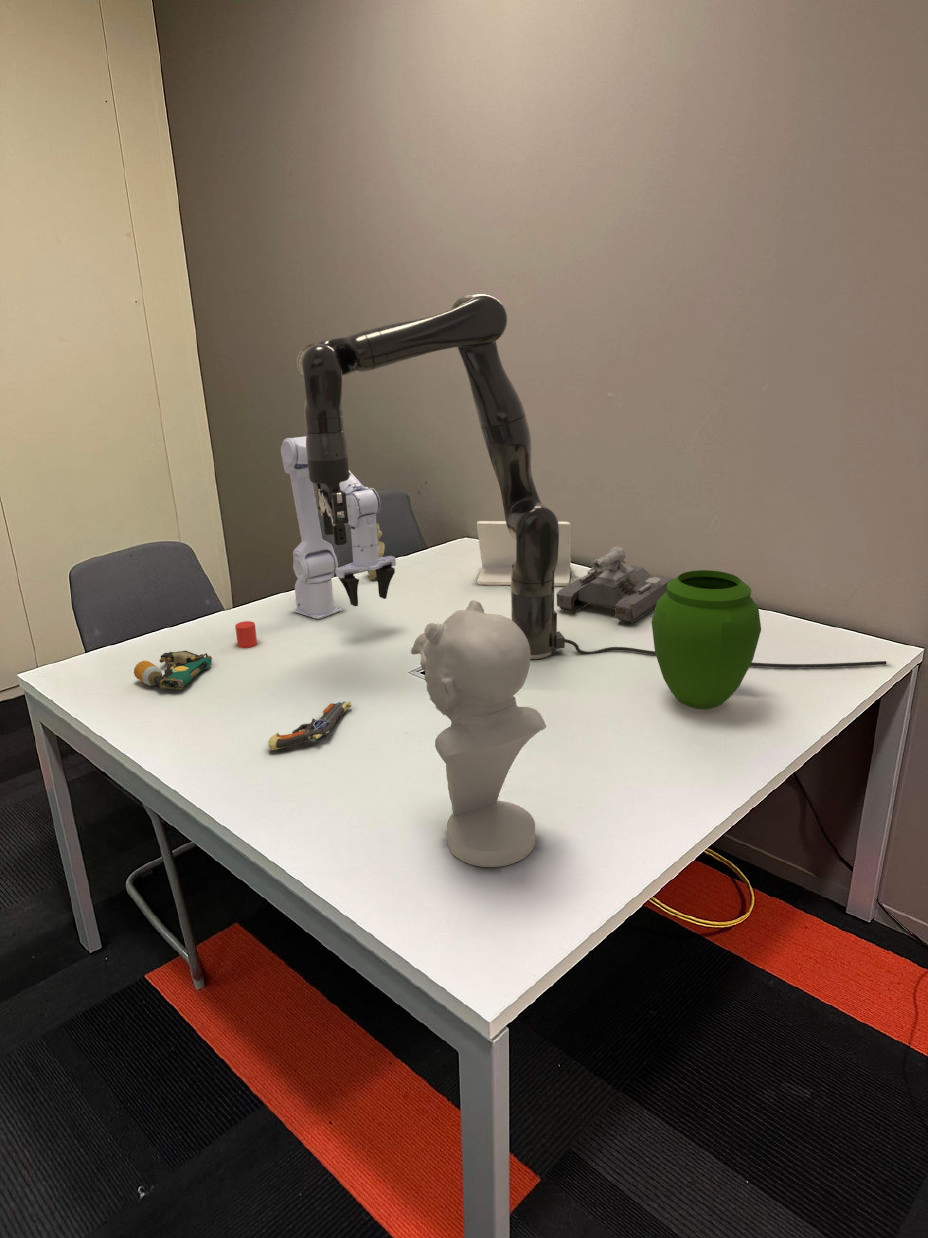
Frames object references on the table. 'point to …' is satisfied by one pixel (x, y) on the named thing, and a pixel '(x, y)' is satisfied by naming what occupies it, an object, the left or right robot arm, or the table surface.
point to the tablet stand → (514, 553)
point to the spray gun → (172, 669)
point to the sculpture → (380, 552)
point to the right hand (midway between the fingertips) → (335, 539)
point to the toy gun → (311, 727)
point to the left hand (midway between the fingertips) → (368, 601)
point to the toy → (614, 588)
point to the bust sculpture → (481, 729)
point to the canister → (246, 634)
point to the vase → (705, 636)
